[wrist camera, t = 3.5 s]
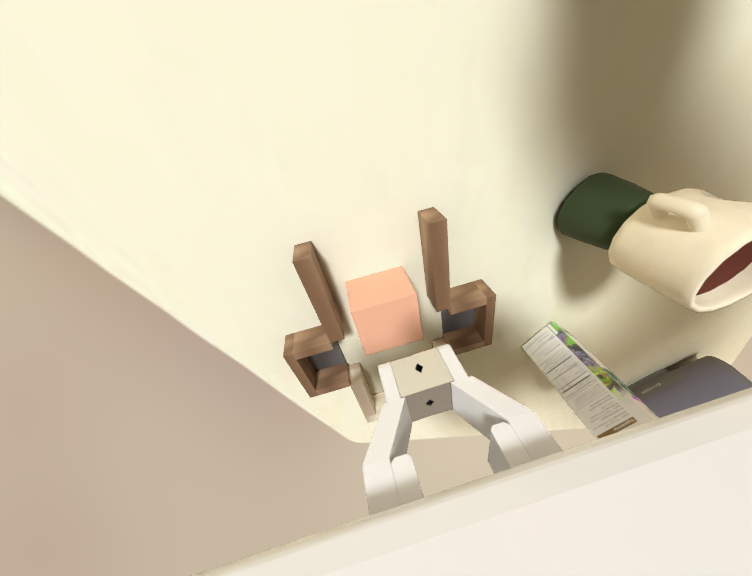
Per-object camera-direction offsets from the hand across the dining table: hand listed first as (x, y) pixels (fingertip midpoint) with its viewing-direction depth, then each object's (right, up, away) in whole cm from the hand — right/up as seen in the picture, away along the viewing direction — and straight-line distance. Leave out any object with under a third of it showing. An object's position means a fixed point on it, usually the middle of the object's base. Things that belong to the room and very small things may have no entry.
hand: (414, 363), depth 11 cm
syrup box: (+24, -4, +29) cm, 38 cm away
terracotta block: (-1, +2, +18) cm, 18 cm away
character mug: (+19, +12, +16) cm, 28 cm away
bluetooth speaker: (+54, -17, +45) cm, 72 cm away
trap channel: (0, -2, +21) cm, 21 cm away
